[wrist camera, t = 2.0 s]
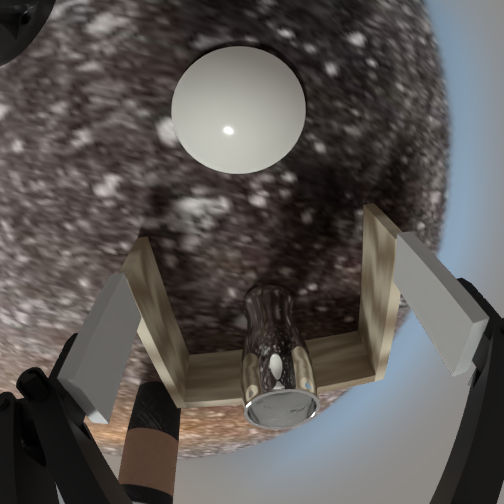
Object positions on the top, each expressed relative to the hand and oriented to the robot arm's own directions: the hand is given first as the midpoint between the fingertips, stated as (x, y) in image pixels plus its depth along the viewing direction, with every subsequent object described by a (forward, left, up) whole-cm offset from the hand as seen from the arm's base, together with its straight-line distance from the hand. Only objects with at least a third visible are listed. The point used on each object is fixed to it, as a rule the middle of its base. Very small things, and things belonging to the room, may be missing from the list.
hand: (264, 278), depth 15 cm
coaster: (-6, 0, -18) cm, 19 cm away
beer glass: (+16, 0, -18) cm, 24 cm away
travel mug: (+32, -19, -18) cm, 41 cm away
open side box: (+14, 0, -18) cm, 22 cm away
